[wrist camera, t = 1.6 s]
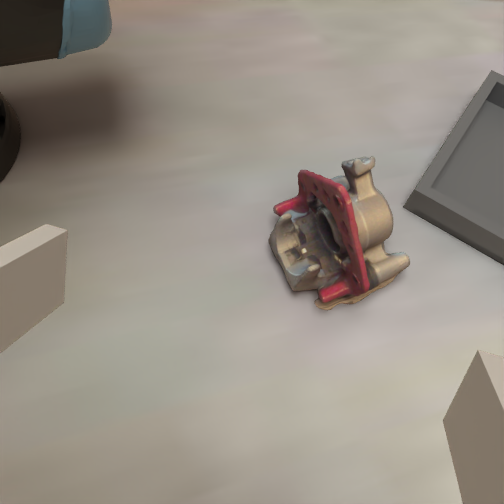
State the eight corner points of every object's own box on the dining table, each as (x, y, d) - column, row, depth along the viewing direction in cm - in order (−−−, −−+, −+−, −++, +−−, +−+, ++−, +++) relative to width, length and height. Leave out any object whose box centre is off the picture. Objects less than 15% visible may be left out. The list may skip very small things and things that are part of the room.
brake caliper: (226, 216, 40) (315, 117, 32) (307, 213, 48) (395, 132, 40) (283, 335, 36) (400, 255, 28) (362, 311, 44) (471, 243, 36)
